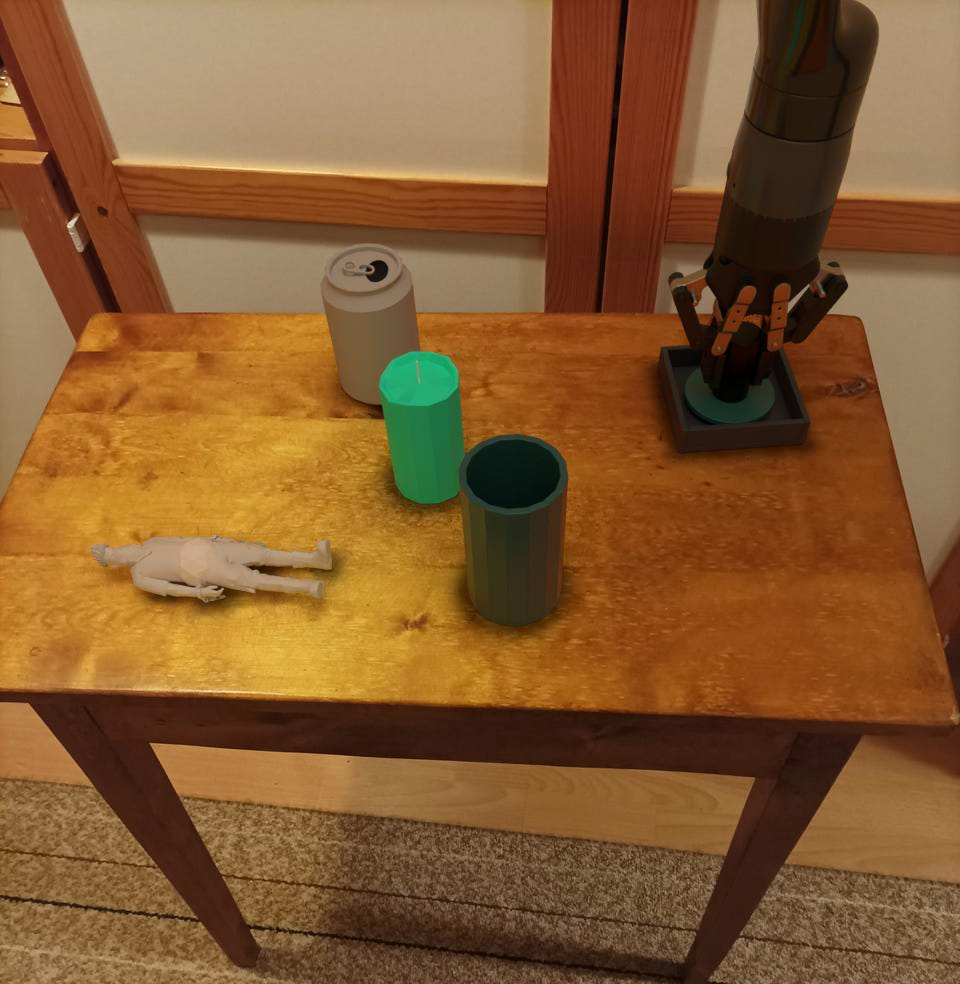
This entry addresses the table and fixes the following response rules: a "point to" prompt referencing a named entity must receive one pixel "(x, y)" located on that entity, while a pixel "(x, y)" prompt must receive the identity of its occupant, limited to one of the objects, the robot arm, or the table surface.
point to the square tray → (697, 434)
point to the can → (368, 315)
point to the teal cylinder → (514, 527)
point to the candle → (423, 425)
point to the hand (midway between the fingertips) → (732, 380)
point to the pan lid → (733, 384)
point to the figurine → (212, 566)
